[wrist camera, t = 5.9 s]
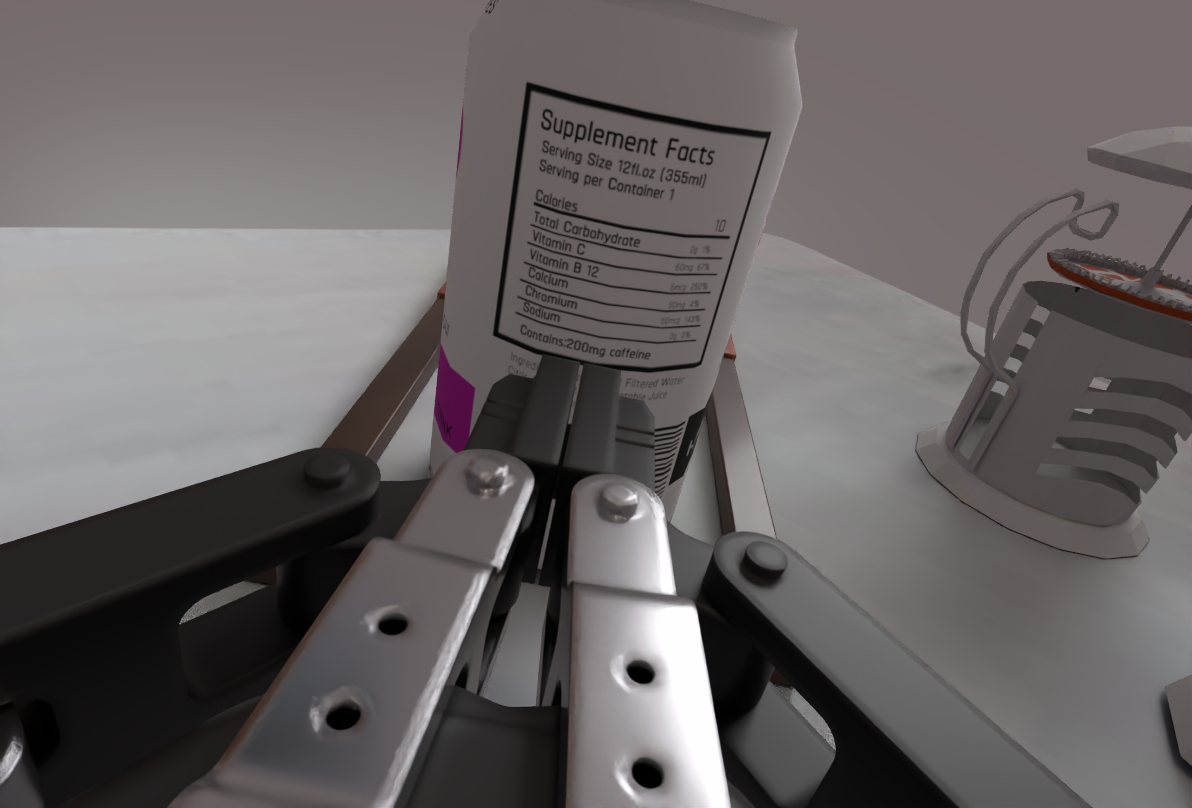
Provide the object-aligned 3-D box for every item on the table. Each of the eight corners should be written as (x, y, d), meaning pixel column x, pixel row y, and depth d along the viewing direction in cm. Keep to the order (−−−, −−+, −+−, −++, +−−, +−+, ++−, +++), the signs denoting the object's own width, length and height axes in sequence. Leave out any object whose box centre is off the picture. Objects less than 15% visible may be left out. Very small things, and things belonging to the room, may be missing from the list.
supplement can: (374, 484, 22) (400, -61, 15) (544, 411, 29) (620, -3, 21) (560, 633, 19) (713, -1, 11) (711, 512, 25) (872, 49, 18)
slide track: (235, 578, 18) (233, 543, 18) (475, 261, 43) (477, 242, 42) (799, 689, 19) (814, 659, 18) (715, 312, 43) (721, 294, 43)
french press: (1206, 566, 28) (1869, -232, 16) (957, 546, 26) (1509, -398, 14) (1045, 434, 37) (1401, -155, 25) (846, 411, 34) (1130, -251, 22)
